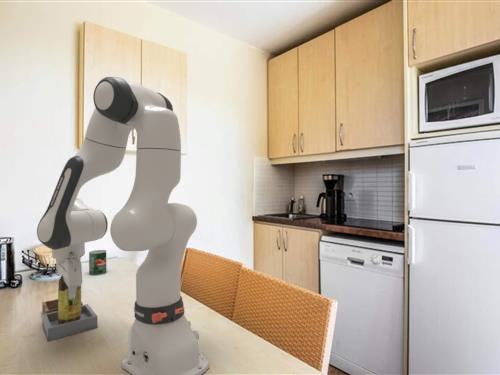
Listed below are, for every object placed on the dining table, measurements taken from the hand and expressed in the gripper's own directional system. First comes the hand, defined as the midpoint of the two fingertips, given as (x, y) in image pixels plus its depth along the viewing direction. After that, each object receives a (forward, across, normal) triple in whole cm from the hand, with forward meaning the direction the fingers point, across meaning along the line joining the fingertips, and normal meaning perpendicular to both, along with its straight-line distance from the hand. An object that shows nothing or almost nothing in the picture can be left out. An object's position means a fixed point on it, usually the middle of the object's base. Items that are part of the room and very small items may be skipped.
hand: (69, 294), depth 97 cm
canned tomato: (+10, +59, -22) cm, 63 cm away
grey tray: (+10, 0, 0) cm, 10 cm away
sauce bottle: (+9, 0, 0) cm, 9 cm away
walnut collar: (+10, +14, 0) cm, 17 cm away
